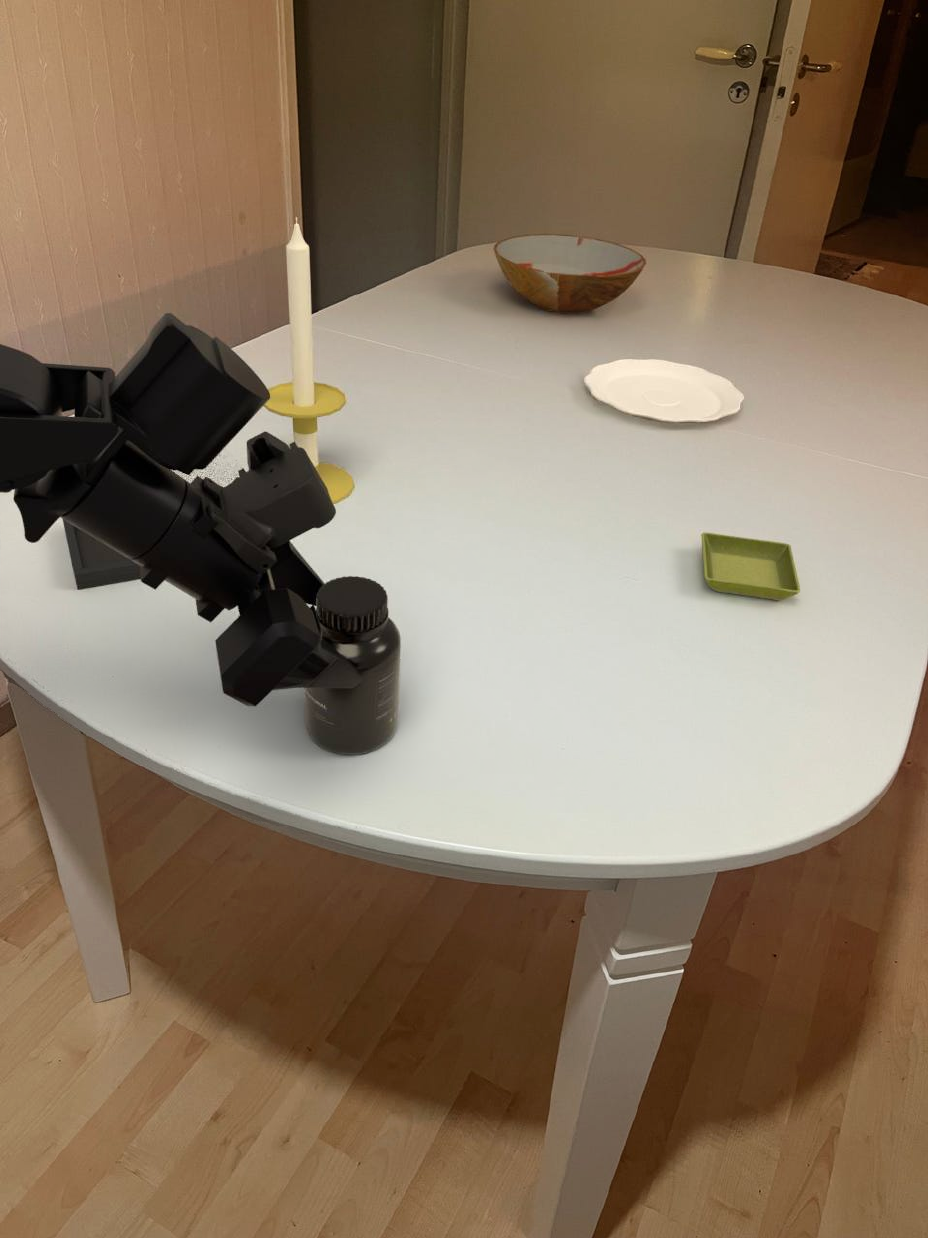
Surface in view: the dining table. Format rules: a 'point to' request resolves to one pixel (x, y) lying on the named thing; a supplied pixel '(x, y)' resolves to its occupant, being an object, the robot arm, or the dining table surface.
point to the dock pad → (97, 560)
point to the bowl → (567, 270)
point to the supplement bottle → (374, 649)
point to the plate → (663, 391)
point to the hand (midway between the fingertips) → (344, 640)
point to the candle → (307, 374)
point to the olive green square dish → (749, 566)
